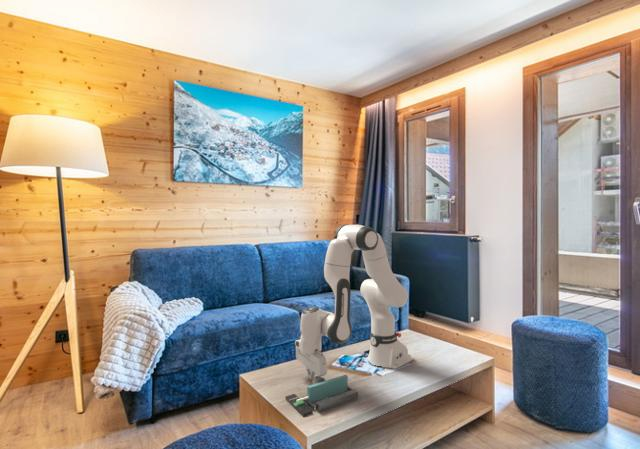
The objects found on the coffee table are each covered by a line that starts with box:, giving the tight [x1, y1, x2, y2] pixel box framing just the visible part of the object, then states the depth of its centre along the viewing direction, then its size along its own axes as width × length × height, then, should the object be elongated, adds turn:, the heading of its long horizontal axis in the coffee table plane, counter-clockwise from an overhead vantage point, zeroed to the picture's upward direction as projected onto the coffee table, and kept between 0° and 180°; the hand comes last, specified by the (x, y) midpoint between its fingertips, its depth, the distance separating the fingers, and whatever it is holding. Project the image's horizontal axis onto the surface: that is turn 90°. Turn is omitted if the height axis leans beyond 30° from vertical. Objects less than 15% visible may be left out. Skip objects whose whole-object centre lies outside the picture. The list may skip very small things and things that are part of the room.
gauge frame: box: [285, 385, 359, 417], centre depth 143 cm, size 25×15×3 cm, turn 122°
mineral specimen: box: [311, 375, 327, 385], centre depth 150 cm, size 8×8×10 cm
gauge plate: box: [296, 374, 349, 404], centre depth 144 cm, size 23×2×6 cm, turn 122°
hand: (310, 377), depth 156 cm, fingers closed
